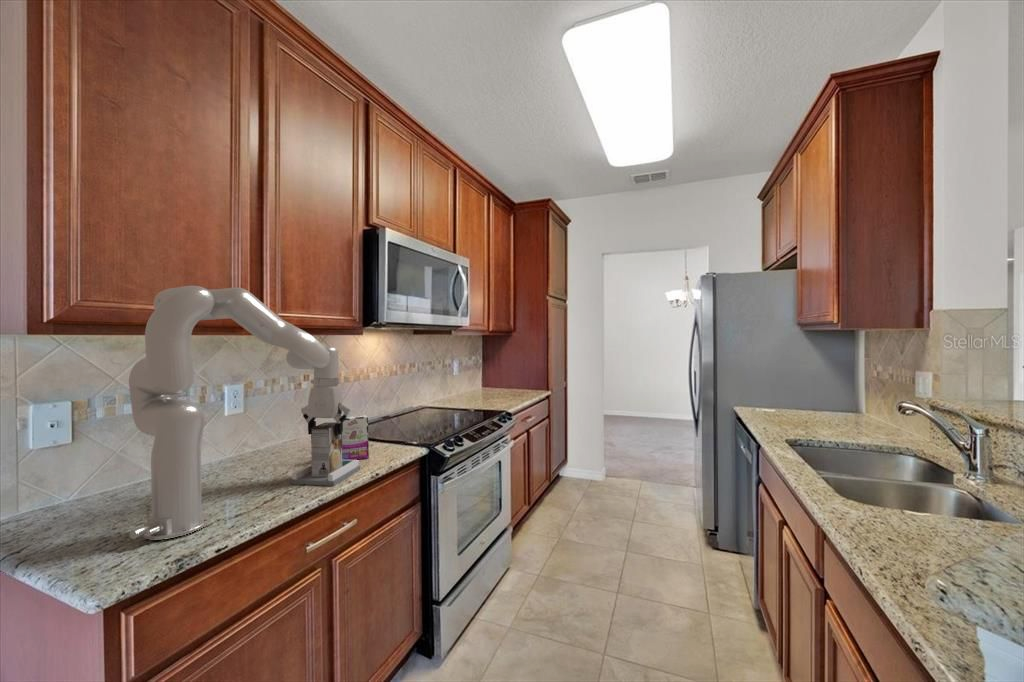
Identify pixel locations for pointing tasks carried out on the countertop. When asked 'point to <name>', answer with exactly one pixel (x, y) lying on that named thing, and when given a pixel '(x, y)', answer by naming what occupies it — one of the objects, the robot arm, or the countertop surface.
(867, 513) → the countertop surface
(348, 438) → the candy bar box
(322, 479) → the tray
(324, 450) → the coffee box
